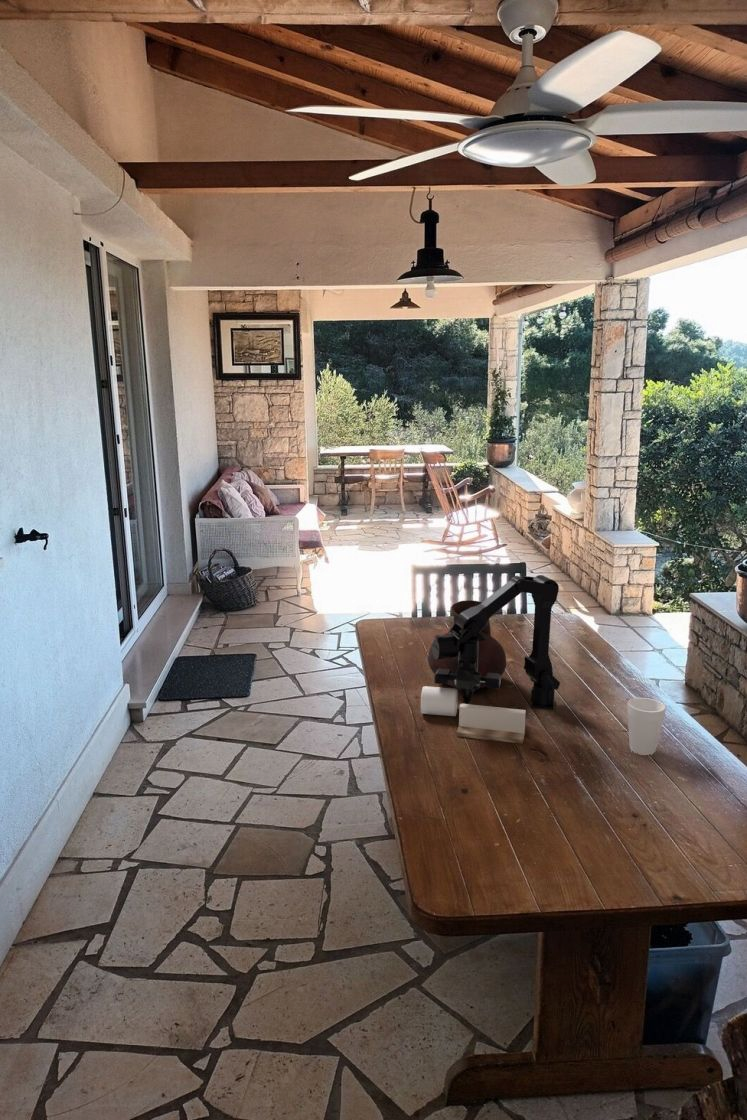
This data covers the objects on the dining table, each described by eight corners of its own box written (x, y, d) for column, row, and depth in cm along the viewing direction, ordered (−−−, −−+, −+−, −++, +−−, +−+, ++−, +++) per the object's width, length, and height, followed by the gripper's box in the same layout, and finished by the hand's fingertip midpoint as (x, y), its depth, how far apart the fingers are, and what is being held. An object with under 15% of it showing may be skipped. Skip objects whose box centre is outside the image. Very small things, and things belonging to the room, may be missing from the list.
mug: (454, 720, 224) (455, 695, 222) (420, 718, 226) (420, 692, 224) (458, 704, 236) (459, 679, 234) (426, 701, 238) (426, 677, 236)
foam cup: (661, 745, 209) (665, 700, 206) (661, 761, 200) (666, 714, 198) (624, 740, 212) (627, 695, 209) (623, 755, 203) (626, 709, 201)
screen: (524, 733, 216) (525, 710, 214) (522, 743, 210) (523, 719, 208) (460, 726, 221) (460, 703, 219) (456, 736, 215) (457, 712, 213)
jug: (417, 691, 245) (418, 615, 240) (441, 665, 268) (442, 595, 262) (495, 703, 236) (498, 624, 231) (512, 674, 259) (515, 602, 253)
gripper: (431, 662, 219) (430, 713, 223) (497, 668, 215) (496, 720, 218) (438, 649, 230) (437, 698, 233) (501, 654, 225) (500, 704, 229)
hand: (467, 705), depth 228 cm, fingers closed
